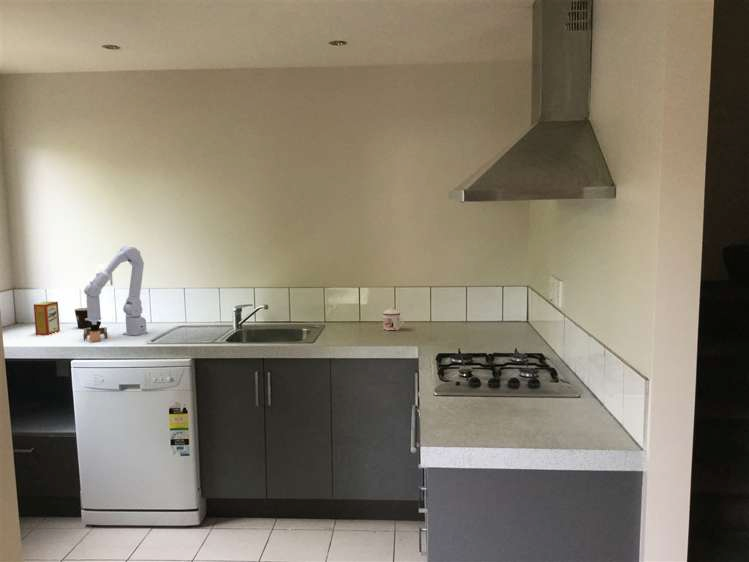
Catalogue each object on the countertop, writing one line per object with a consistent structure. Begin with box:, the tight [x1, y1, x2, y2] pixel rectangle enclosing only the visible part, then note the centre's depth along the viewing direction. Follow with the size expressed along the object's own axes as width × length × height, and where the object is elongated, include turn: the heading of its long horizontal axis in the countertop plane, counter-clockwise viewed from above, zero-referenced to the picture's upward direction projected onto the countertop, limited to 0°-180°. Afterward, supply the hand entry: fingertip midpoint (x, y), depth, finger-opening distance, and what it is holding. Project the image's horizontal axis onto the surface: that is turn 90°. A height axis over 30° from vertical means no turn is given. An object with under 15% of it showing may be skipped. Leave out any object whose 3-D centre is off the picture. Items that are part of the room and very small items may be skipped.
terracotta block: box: [89, 331, 101, 342], centre depth 290 cm, size 4×4×4 cm
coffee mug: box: [74, 307, 91, 330], centre depth 321 cm, size 12×9×10 cm
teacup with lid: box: [382, 306, 405, 331], centre depth 310 cm, size 12×9×12 cm
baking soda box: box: [33, 301, 61, 336], centre depth 308 cm, size 10×6×16 cm
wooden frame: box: [82, 327, 108, 341], centre depth 300 cm, size 14×10×3 cm
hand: (95, 336), depth 293 cm, fingers closed
